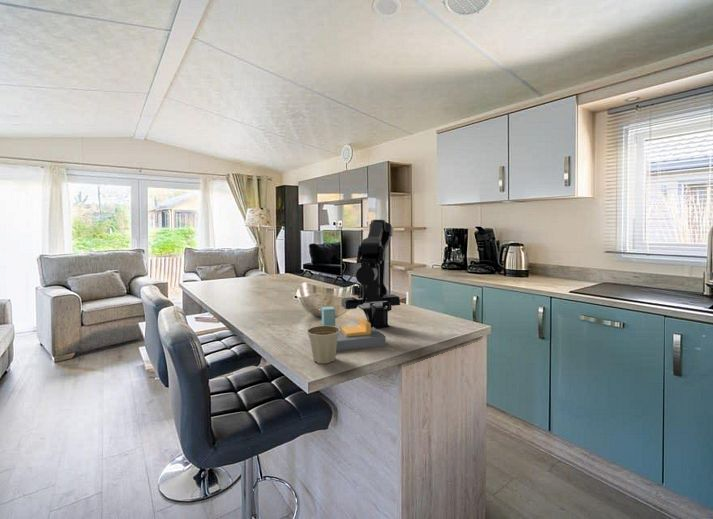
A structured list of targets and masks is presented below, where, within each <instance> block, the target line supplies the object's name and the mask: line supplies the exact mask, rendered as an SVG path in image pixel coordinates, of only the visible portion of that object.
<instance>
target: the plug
mask: <svg viewBox="0 0 713 519" xmlns="http://www.w3.org/2000/svg"><path fill="white" fill-rule="evenodd" d="M320 309H321V326H335V327H336V308H335V307H334V306H322V307H321V308H320Z"/></svg>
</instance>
